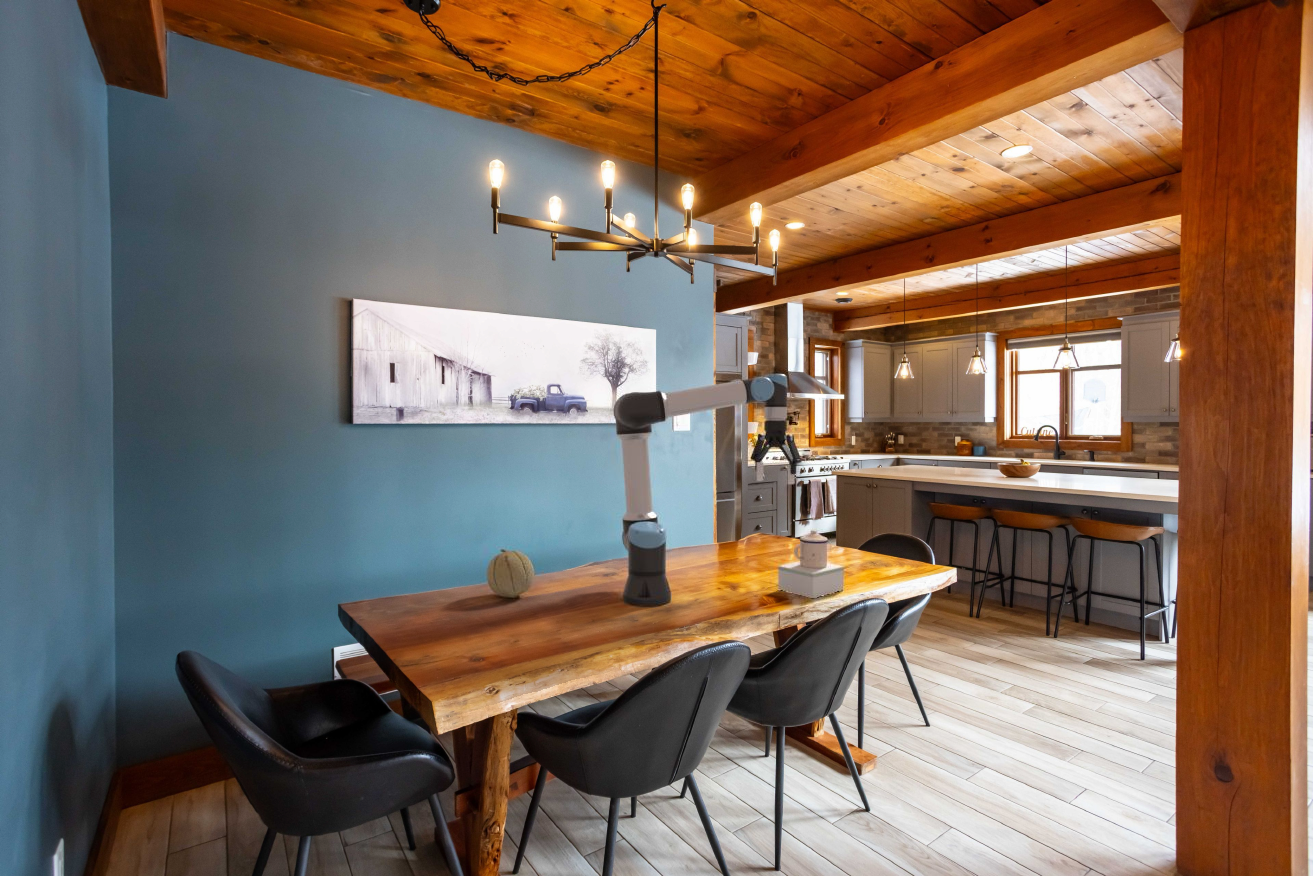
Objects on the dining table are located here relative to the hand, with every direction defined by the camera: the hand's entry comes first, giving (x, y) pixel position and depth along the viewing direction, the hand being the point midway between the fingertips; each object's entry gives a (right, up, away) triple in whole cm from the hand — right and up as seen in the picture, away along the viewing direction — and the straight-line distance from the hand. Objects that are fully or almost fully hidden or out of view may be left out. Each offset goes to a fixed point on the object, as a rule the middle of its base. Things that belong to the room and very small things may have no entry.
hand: (775, 482), depth 225 cm
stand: (+11, -35, -7) cm, 37 cm away
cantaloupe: (-86, -35, -16) cm, 94 cm away
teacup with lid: (+10, -27, -7) cm, 30 cm away
